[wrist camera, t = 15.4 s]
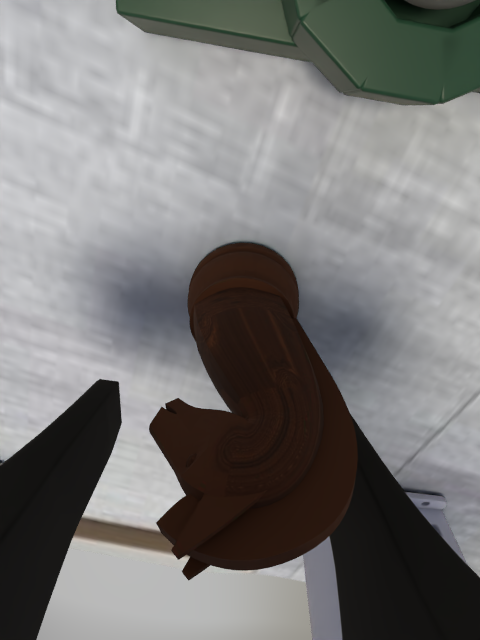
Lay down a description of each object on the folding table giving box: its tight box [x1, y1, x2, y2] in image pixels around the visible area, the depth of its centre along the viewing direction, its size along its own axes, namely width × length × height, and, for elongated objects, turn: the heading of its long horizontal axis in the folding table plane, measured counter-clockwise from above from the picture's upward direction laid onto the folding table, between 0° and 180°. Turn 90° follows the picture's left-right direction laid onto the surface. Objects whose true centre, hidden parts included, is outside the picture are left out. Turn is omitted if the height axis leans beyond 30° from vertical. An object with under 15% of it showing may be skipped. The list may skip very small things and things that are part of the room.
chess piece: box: [149, 243, 358, 580], centre depth 10 cm, size 5×5×10 cm
